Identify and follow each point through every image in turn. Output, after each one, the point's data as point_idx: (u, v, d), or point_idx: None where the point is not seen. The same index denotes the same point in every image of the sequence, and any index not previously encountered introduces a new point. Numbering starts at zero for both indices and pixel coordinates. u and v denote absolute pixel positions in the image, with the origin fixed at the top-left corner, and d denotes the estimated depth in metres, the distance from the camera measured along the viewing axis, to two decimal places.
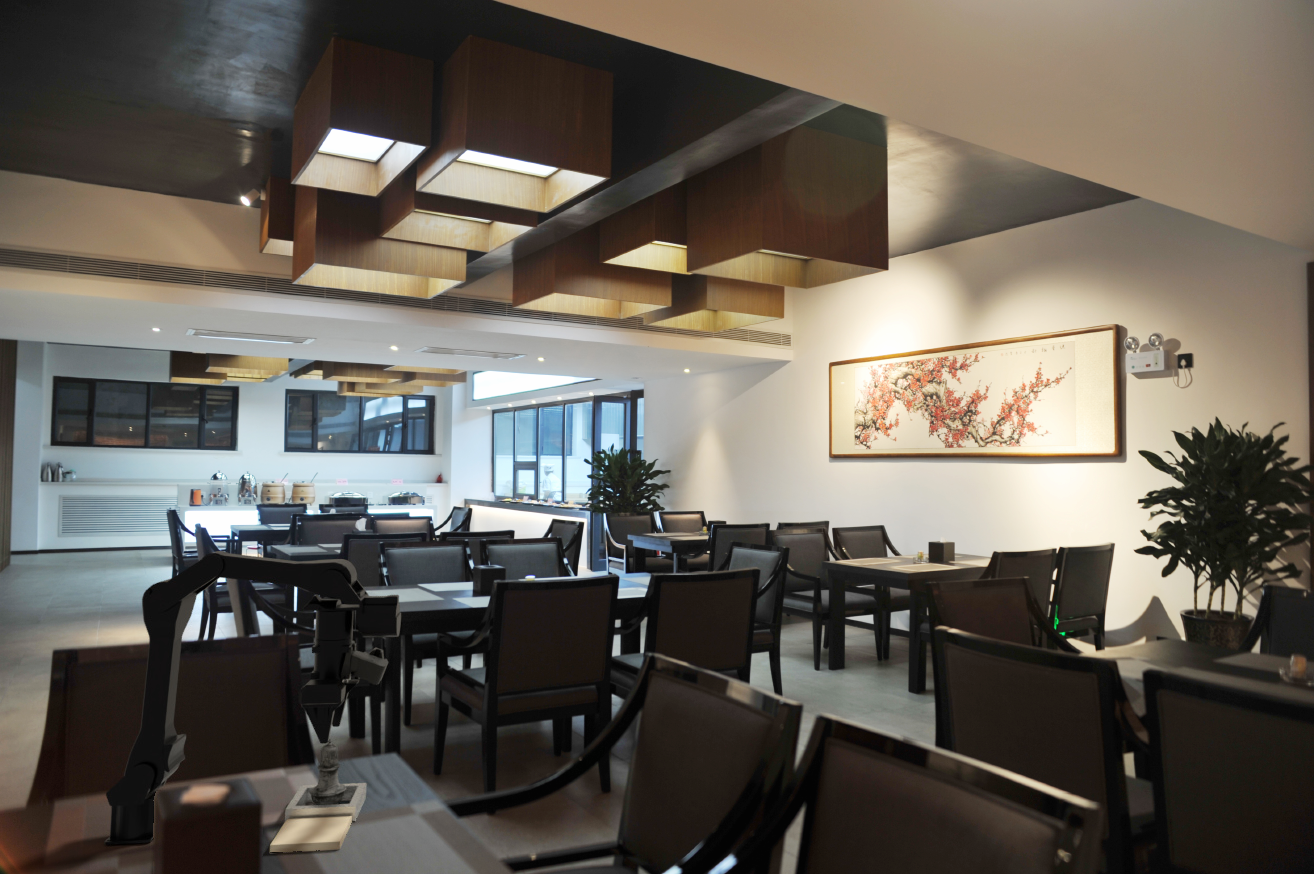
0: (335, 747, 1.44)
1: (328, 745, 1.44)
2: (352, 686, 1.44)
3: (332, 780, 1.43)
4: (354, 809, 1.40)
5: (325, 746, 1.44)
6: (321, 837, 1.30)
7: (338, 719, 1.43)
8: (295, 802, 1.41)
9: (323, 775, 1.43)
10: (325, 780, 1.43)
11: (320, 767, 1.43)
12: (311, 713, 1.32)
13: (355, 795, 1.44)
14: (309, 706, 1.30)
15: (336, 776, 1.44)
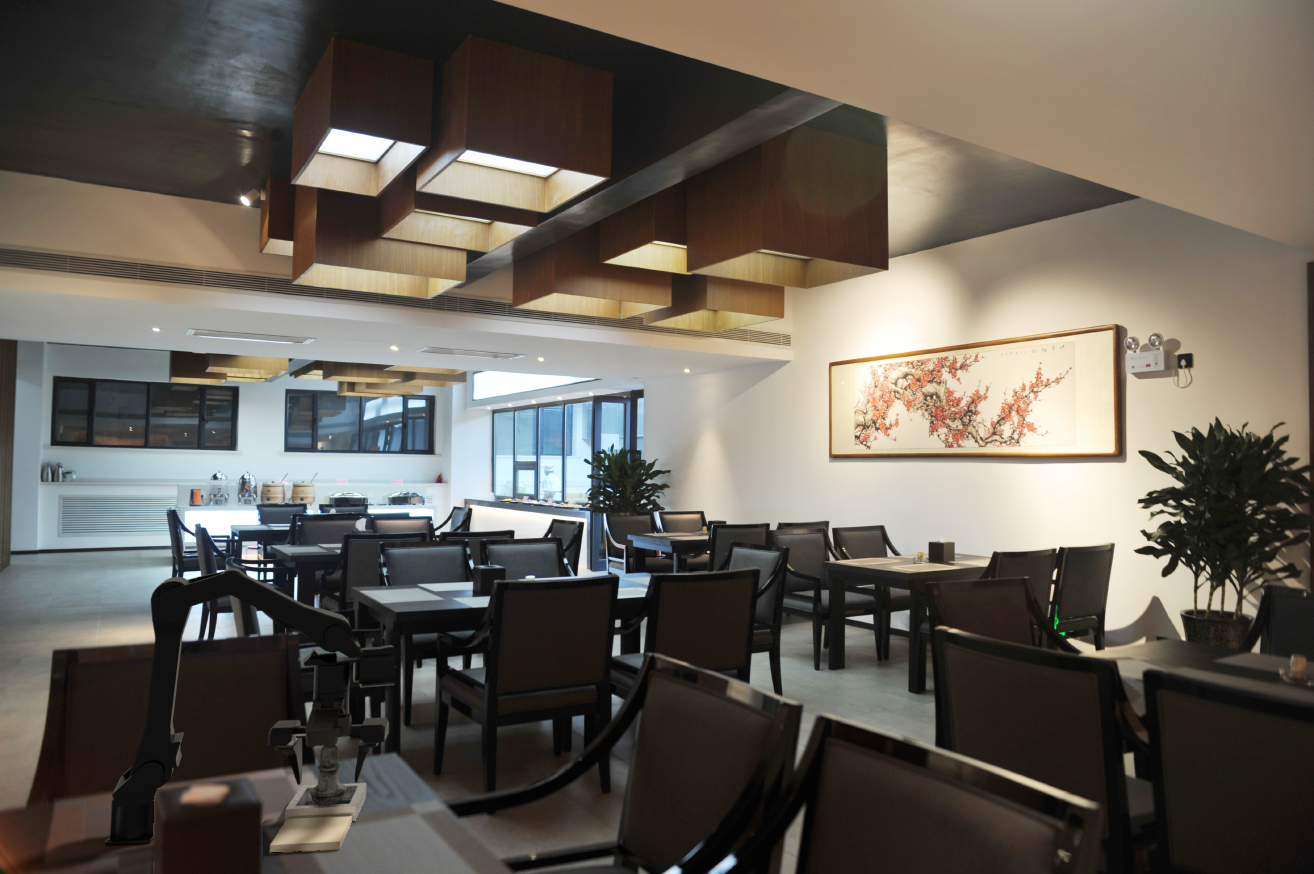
0: (335, 747, 1.44)
1: None
2: (358, 747, 1.43)
3: (332, 780, 1.43)
4: (354, 809, 1.40)
5: (325, 746, 1.44)
6: (321, 837, 1.30)
7: (355, 775, 1.45)
8: (295, 802, 1.41)
9: (323, 775, 1.43)
10: (325, 780, 1.43)
11: (320, 767, 1.43)
12: None
13: (355, 795, 1.44)
14: None
15: (336, 776, 1.44)
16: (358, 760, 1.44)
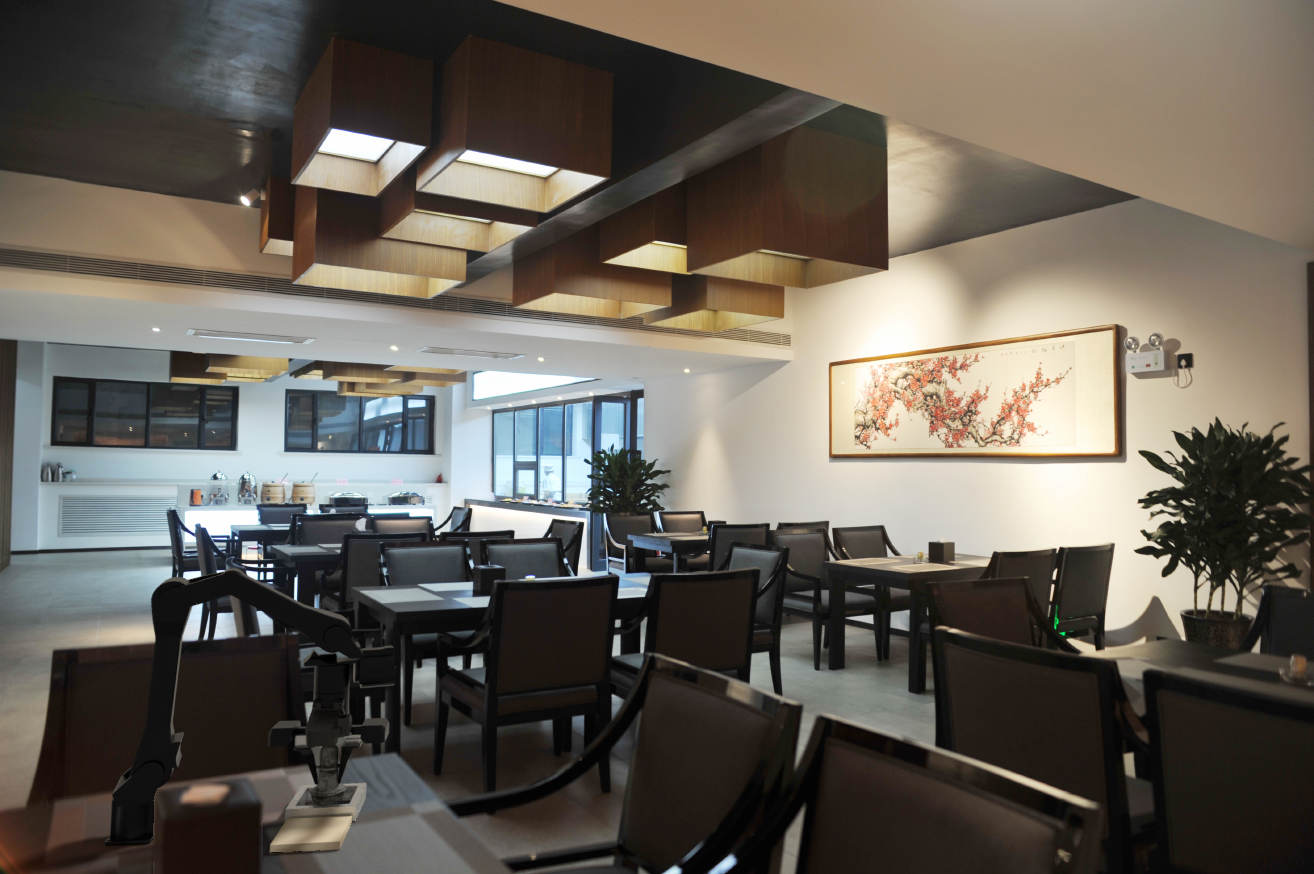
0: (335, 747, 1.44)
1: None
2: None
3: (332, 780, 1.43)
4: (354, 809, 1.40)
5: (325, 746, 1.44)
6: (321, 837, 1.30)
7: (338, 776, 1.44)
8: (295, 802, 1.41)
9: (323, 775, 1.43)
10: (325, 780, 1.43)
11: (320, 767, 1.43)
12: None
13: (355, 795, 1.44)
14: None
15: (336, 776, 1.44)
16: (341, 761, 1.44)
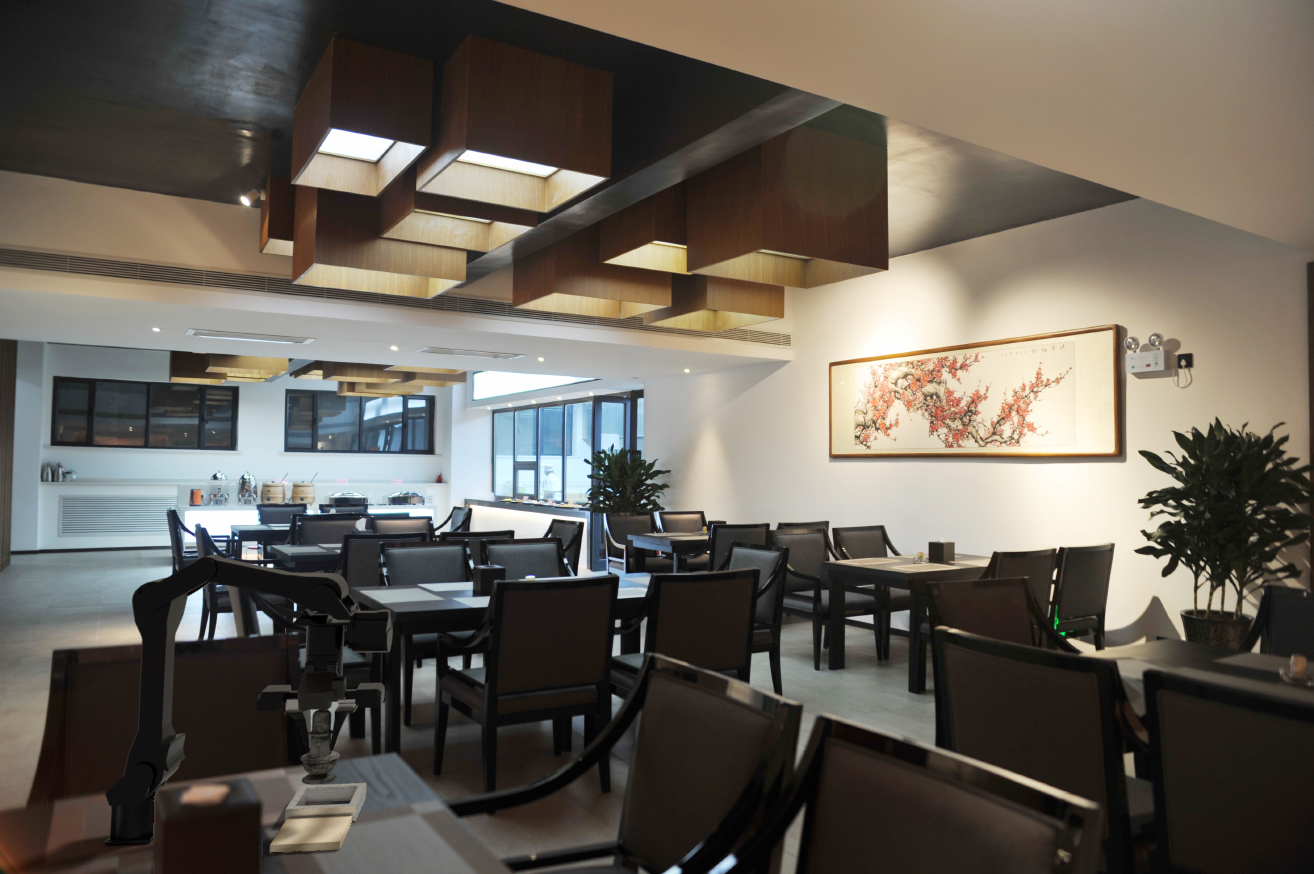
0: (328, 712, 1.37)
1: (320, 710, 1.37)
2: None
3: (324, 747, 1.36)
4: (354, 809, 1.40)
5: (317, 711, 1.37)
6: (321, 837, 1.30)
7: (331, 743, 1.37)
8: (295, 802, 1.41)
9: (315, 741, 1.36)
10: (317, 746, 1.36)
11: (312, 733, 1.36)
12: None
13: (355, 795, 1.44)
14: None
15: (329, 742, 1.37)
16: (334, 727, 1.37)
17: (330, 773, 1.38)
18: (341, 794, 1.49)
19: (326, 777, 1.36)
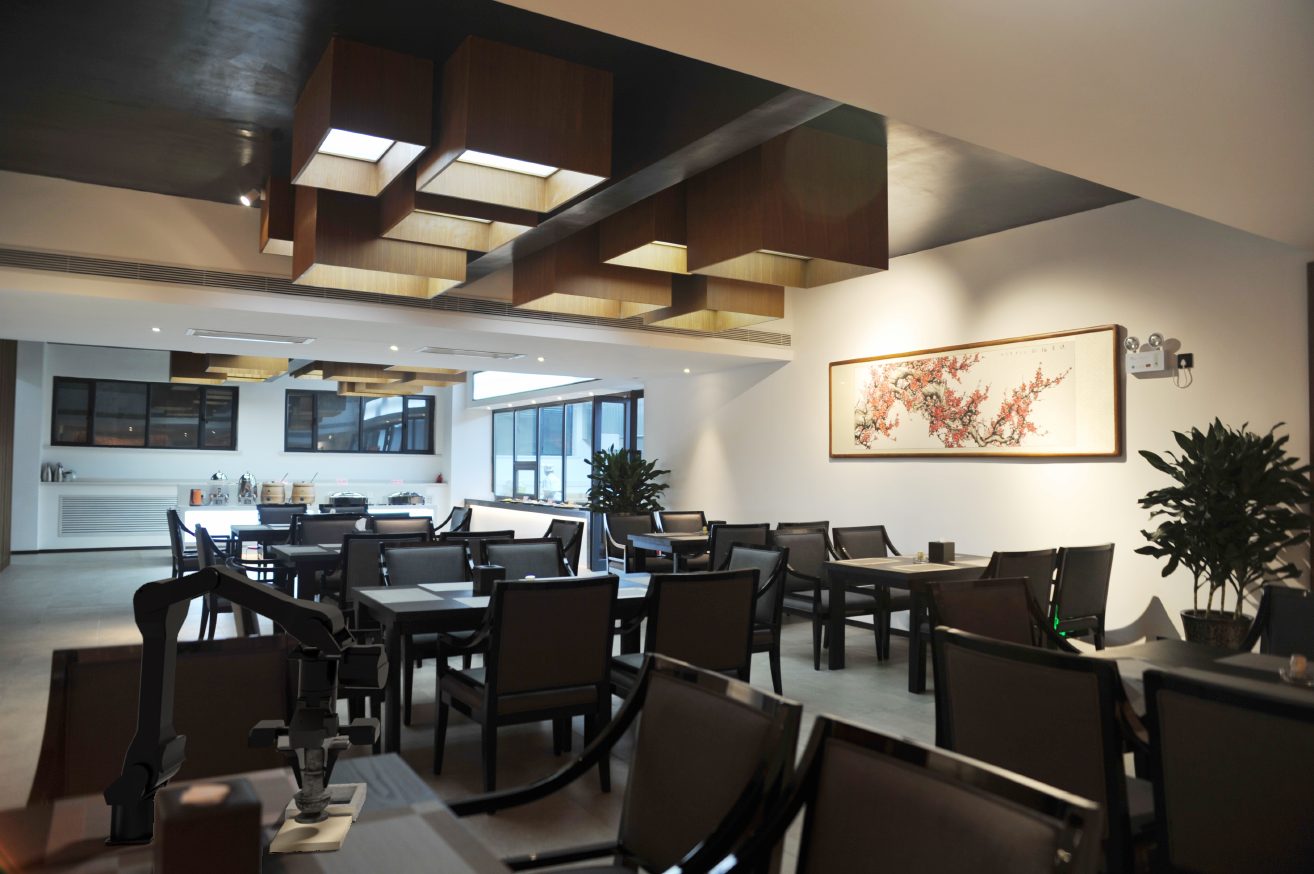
0: (321, 749, 1.34)
1: None
2: None
3: (317, 784, 1.33)
4: (354, 809, 1.40)
5: None
6: (321, 837, 1.30)
7: None
8: None
9: (308, 779, 1.32)
10: (310, 784, 1.32)
11: (305, 770, 1.33)
12: None
13: (355, 795, 1.44)
14: None
15: (322, 780, 1.33)
16: (328, 764, 1.33)
17: (323, 811, 1.35)
18: (341, 794, 1.49)
19: (319, 816, 1.32)
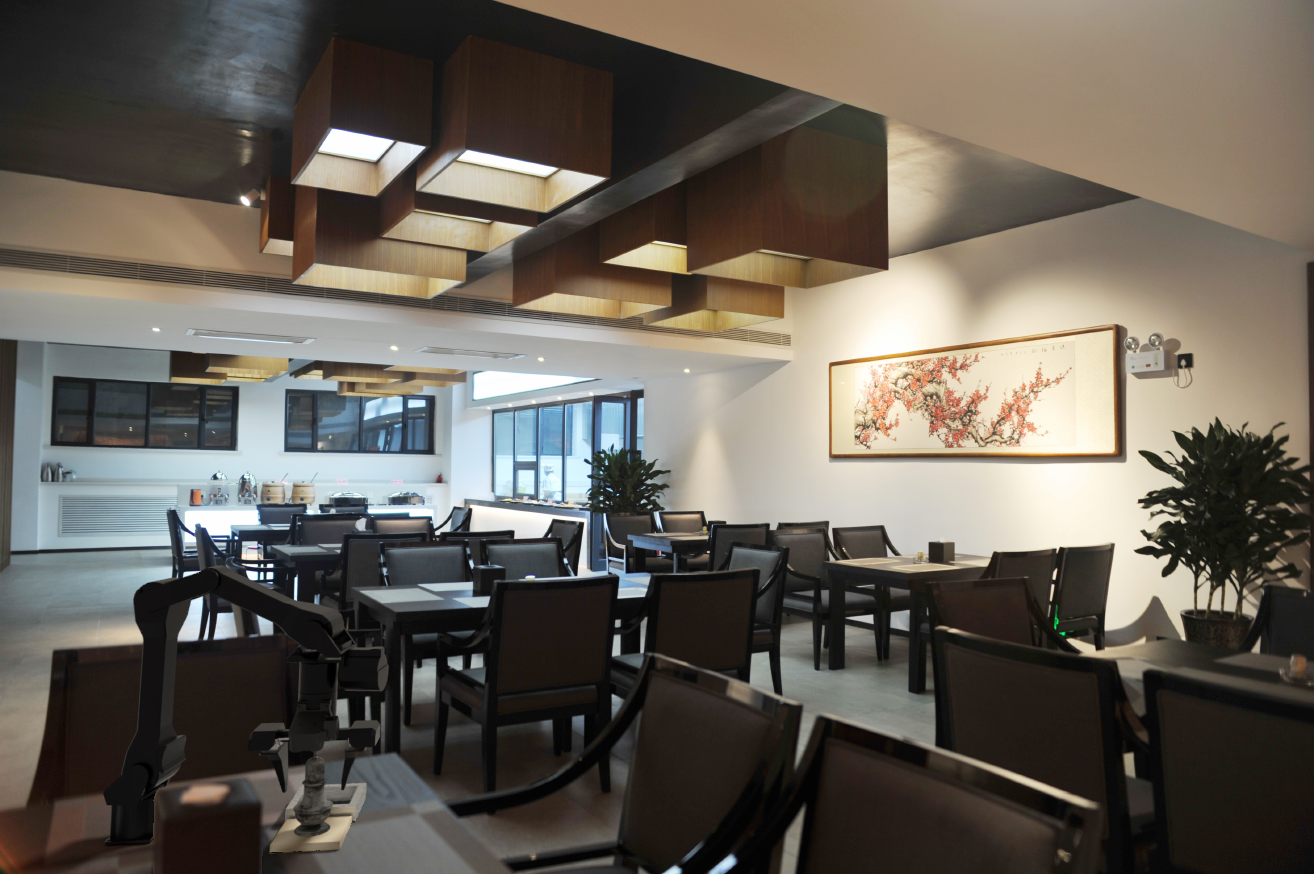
0: (321, 761, 1.34)
1: (314, 758, 1.33)
2: (345, 752, 1.33)
3: (317, 797, 1.33)
4: (354, 809, 1.40)
5: (310, 759, 1.33)
6: (321, 837, 1.30)
7: None
8: (295, 802, 1.41)
9: (308, 791, 1.32)
10: (310, 796, 1.32)
11: (305, 782, 1.33)
12: None
13: (355, 795, 1.44)
14: None
15: (322, 792, 1.33)
16: (345, 766, 1.33)
17: (323, 823, 1.34)
18: (341, 794, 1.49)
19: (319, 828, 1.32)
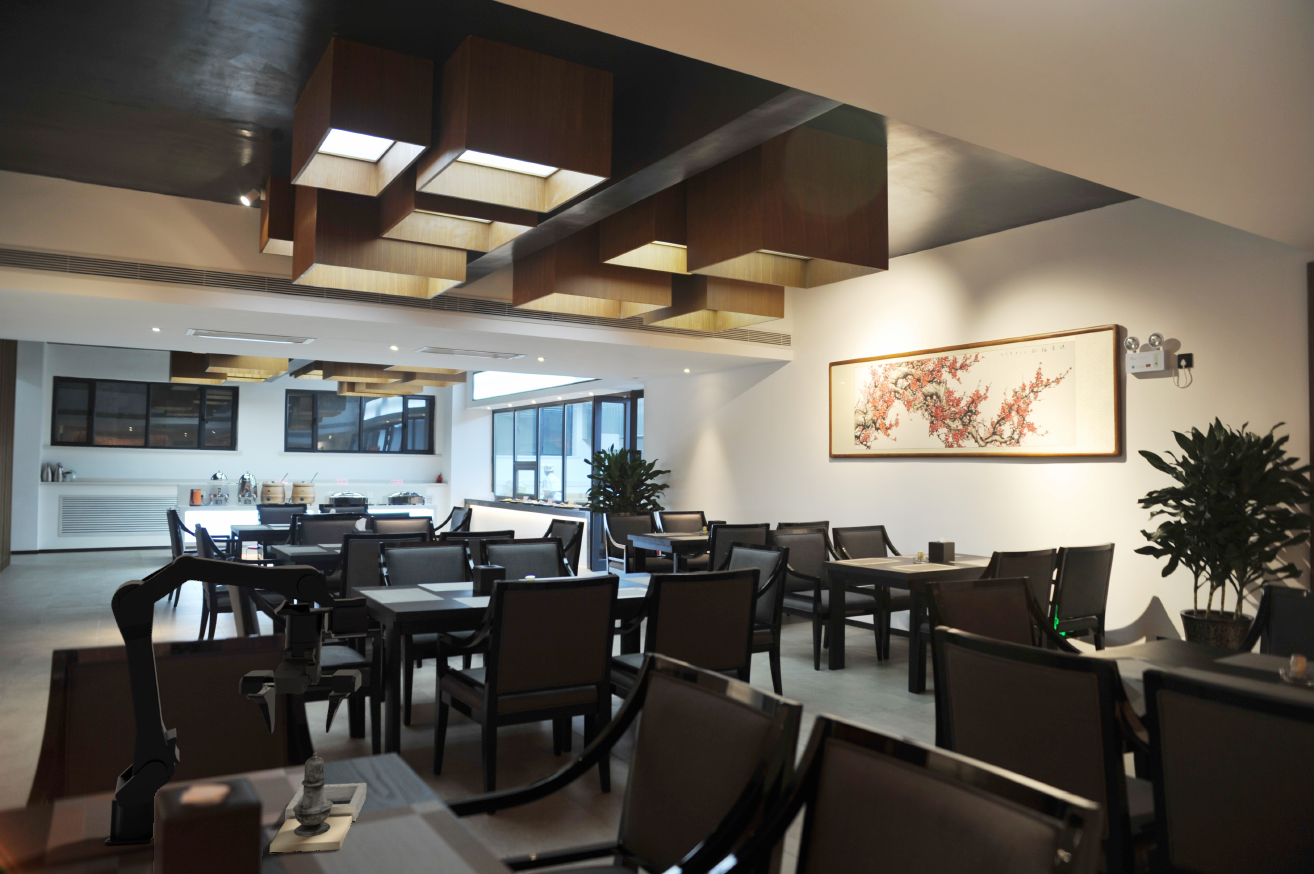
0: (320, 760, 1.34)
1: (313, 758, 1.33)
2: None
3: (317, 797, 1.33)
4: (354, 809, 1.40)
5: (310, 759, 1.33)
6: (321, 837, 1.30)
7: None
8: (295, 802, 1.41)
9: (307, 791, 1.32)
10: (310, 796, 1.32)
11: (304, 782, 1.33)
12: None
13: (355, 795, 1.44)
14: None
15: (322, 792, 1.33)
16: (329, 710, 1.44)
17: (323, 823, 1.34)
18: (341, 794, 1.49)
19: (319, 828, 1.32)
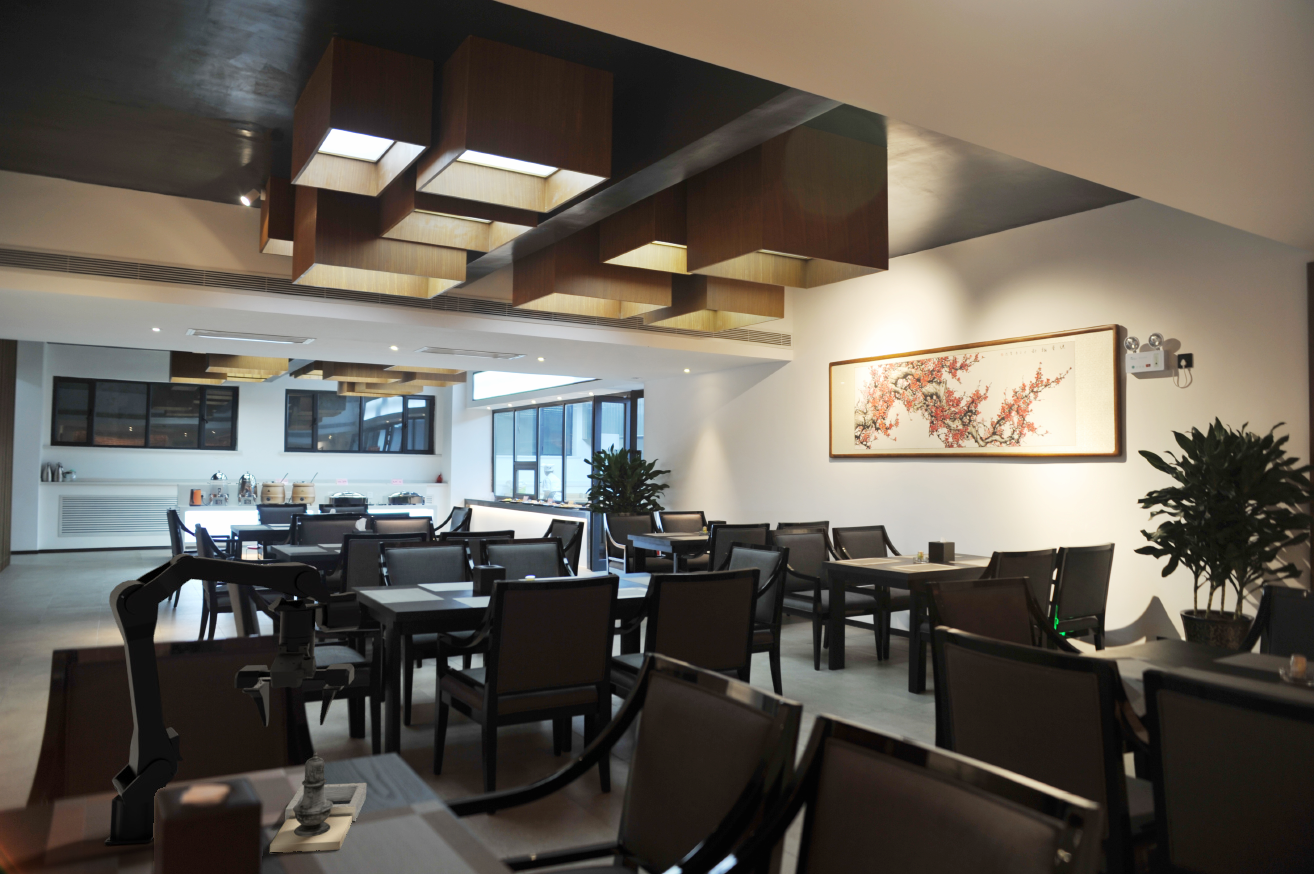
0: (321, 761, 1.34)
1: (313, 759, 1.33)
2: (323, 690, 1.47)
3: (317, 797, 1.33)
4: (354, 809, 1.40)
5: (310, 760, 1.33)
6: (321, 837, 1.30)
7: None
8: (295, 802, 1.41)
9: (308, 791, 1.32)
10: (310, 796, 1.32)
11: (305, 782, 1.33)
12: None
13: (355, 795, 1.44)
14: None
15: (322, 792, 1.33)
16: (323, 703, 1.48)
17: (323, 823, 1.34)
18: (341, 794, 1.49)
19: (319, 828, 1.32)
